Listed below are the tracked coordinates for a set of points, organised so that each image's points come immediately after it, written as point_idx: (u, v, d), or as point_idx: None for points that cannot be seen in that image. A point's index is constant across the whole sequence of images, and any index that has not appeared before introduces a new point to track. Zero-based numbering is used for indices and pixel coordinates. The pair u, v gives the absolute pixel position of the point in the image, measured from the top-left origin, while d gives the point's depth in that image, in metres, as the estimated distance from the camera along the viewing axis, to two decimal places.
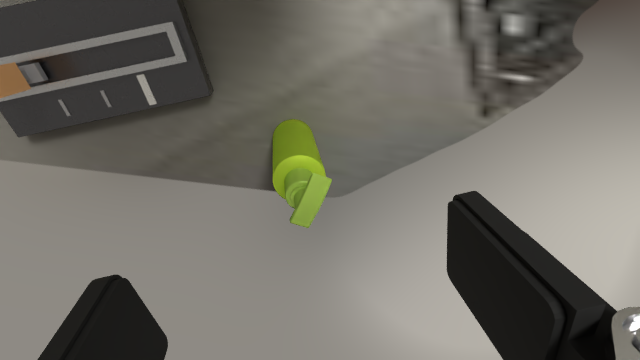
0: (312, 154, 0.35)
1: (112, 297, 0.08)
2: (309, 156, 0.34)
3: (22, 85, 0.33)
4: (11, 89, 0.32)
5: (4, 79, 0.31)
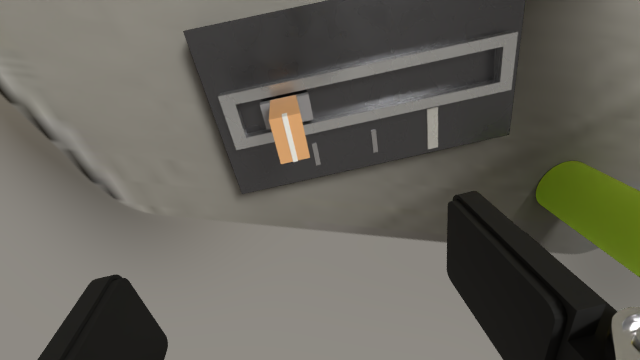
0: None
1: (112, 297, 0.08)
2: None
3: None
4: None
5: None
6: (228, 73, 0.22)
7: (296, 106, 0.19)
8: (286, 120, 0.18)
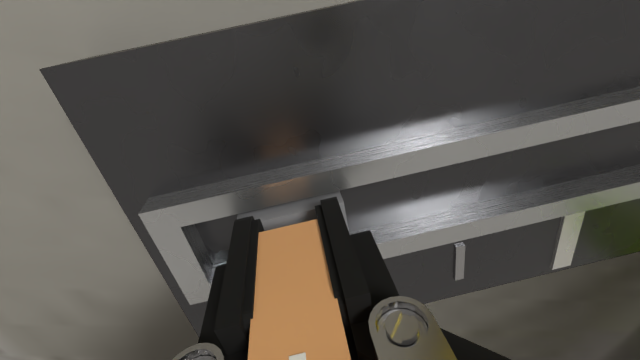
0: None
1: (257, 232, 0.09)
2: None
3: None
4: None
5: None
6: (164, 157, 0.10)
7: (331, 301, 0.06)
8: None
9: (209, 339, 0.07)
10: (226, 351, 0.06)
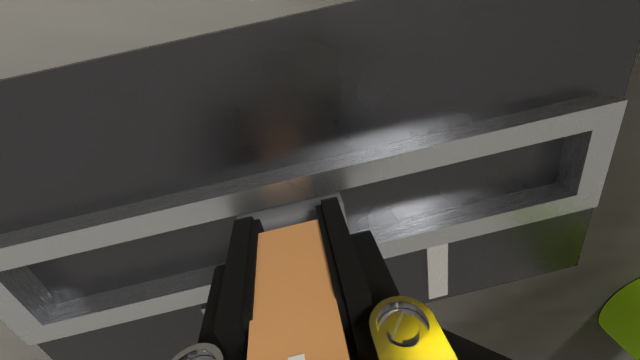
0: None
1: (257, 232, 0.09)
2: None
3: None
4: None
5: None
6: None
7: (330, 301, 0.06)
8: None
9: (209, 339, 0.07)
10: (226, 351, 0.06)
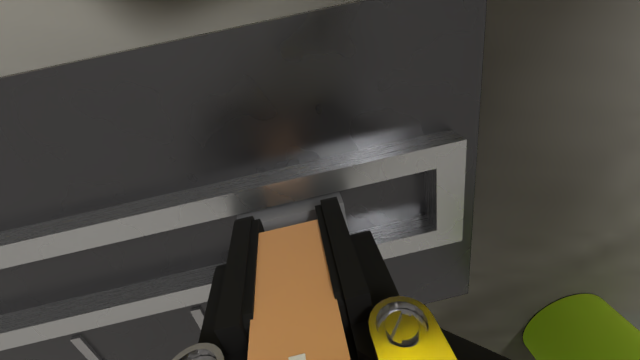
0: None
1: (257, 232, 0.09)
2: None
3: None
4: None
5: None
6: None
7: (330, 301, 0.06)
8: None
9: (209, 339, 0.07)
10: (226, 351, 0.06)
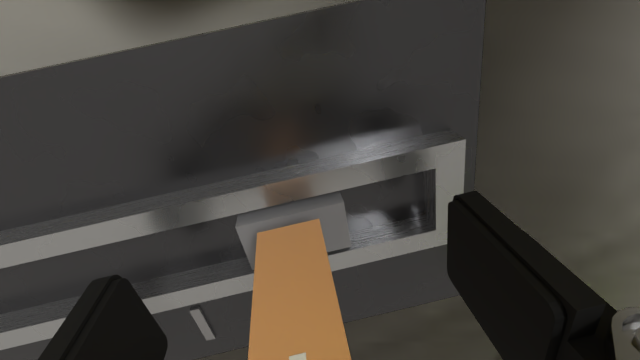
0: None
1: (112, 297, 0.08)
2: None
3: None
4: None
5: None
6: None
7: (331, 301, 0.06)
8: None
9: None
10: None
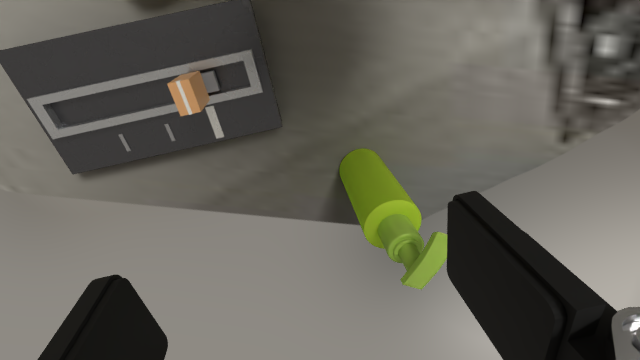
0: (406, 196, 0.31)
1: (112, 297, 0.08)
2: (407, 200, 0.30)
3: (206, 96, 0.30)
4: (203, 101, 0.29)
5: (198, 90, 0.28)
6: (36, 81, 0.30)
7: (191, 76, 0.27)
8: (179, 84, 0.26)
9: None
10: None
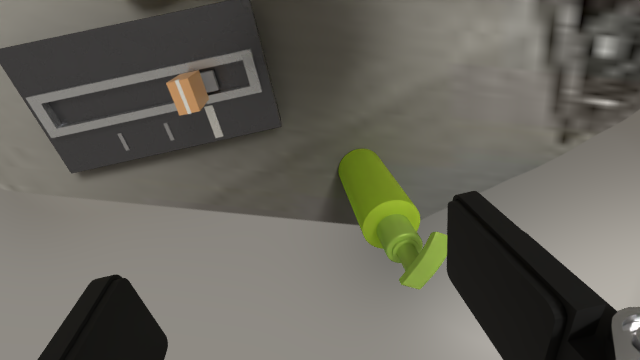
0: (405, 196, 0.31)
1: (112, 297, 0.08)
2: (406, 200, 0.30)
3: (205, 95, 0.30)
4: (202, 100, 0.29)
5: (198, 89, 0.28)
6: (35, 80, 0.30)
7: (190, 75, 0.27)
8: (178, 83, 0.26)
9: None
10: None
